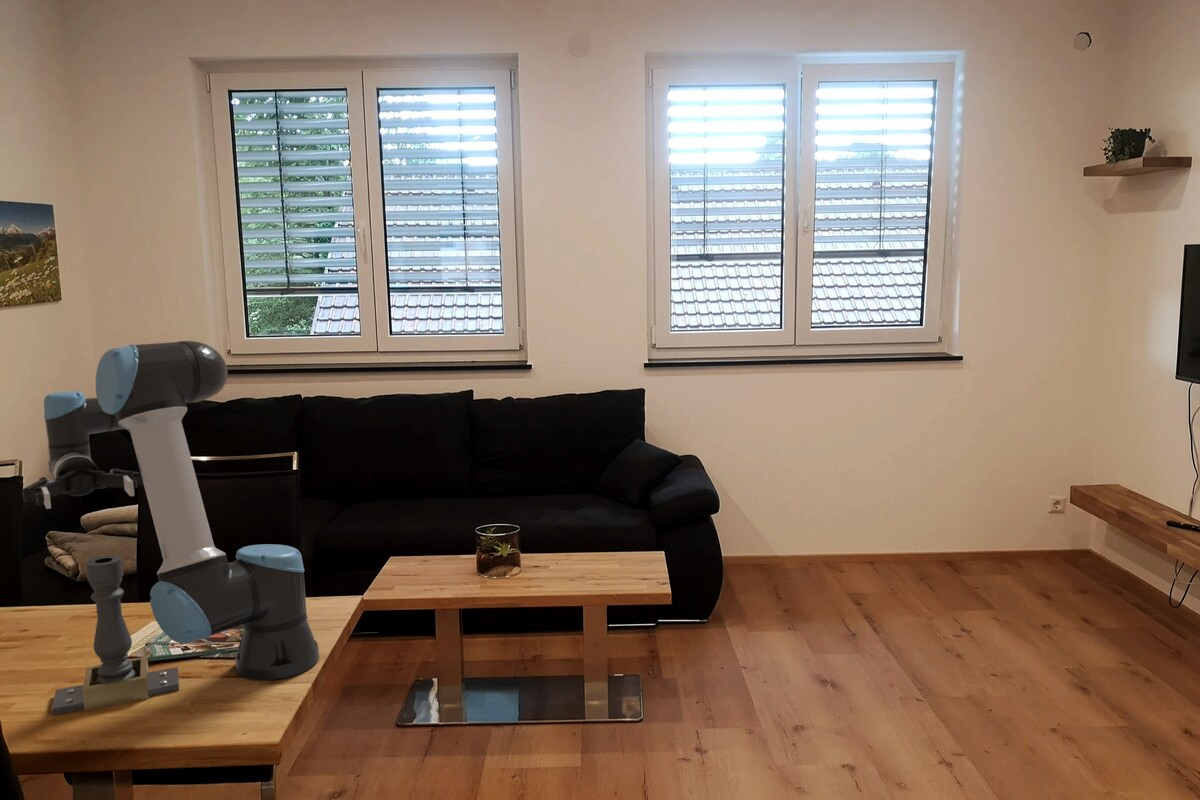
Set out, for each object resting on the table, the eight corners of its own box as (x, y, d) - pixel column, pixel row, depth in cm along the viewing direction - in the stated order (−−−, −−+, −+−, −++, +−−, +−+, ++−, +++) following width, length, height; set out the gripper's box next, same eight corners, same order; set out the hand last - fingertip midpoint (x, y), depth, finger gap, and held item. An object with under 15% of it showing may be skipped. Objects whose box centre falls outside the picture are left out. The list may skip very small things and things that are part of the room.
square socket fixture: (178, 670, 176) (176, 650, 175) (179, 692, 167) (177, 671, 166) (57, 693, 168) (54, 673, 167) (51, 717, 159) (49, 696, 158)
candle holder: (126, 700, 164) (112, 566, 160) (91, 701, 164) (76, 566, 160) (143, 684, 170) (130, 554, 166) (110, 685, 170) (96, 555, 167)
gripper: (146, 482, 195) (166, 503, 177) (6, 503, 180) (13, 527, 163) (142, 447, 193) (162, 465, 176) (1, 465, 179) (8, 486, 162)
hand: (90, 495), depth 170 cm, fingers open, 13 cm apart
